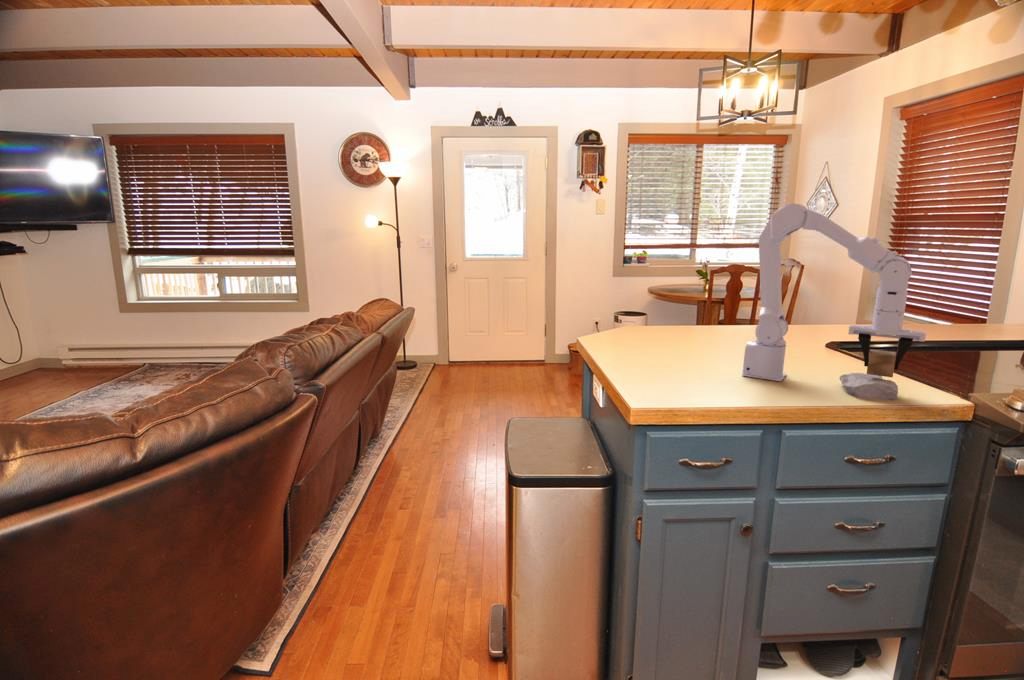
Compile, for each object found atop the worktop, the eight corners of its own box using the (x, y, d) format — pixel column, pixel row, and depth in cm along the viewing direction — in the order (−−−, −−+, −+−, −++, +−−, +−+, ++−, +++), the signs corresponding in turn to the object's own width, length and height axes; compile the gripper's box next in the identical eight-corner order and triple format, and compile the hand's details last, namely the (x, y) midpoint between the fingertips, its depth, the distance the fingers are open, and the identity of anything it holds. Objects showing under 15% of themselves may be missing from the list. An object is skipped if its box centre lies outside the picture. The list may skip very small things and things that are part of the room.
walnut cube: (866, 374, 124) (869, 353, 123) (867, 369, 128) (870, 349, 127) (892, 377, 121) (896, 356, 120) (892, 372, 125) (895, 352, 124)
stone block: (854, 406, 122) (902, 400, 119) (851, 386, 121) (900, 380, 119) (833, 392, 133) (877, 387, 131) (831, 374, 132) (876, 368, 130)
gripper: (928, 310, 120) (918, 368, 123) (853, 305, 128) (845, 359, 131) (929, 315, 115) (919, 375, 118) (851, 309, 123) (843, 365, 126)
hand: (880, 367), depth 124 cm, fingers closed on walnut cube, 5 cm apart
